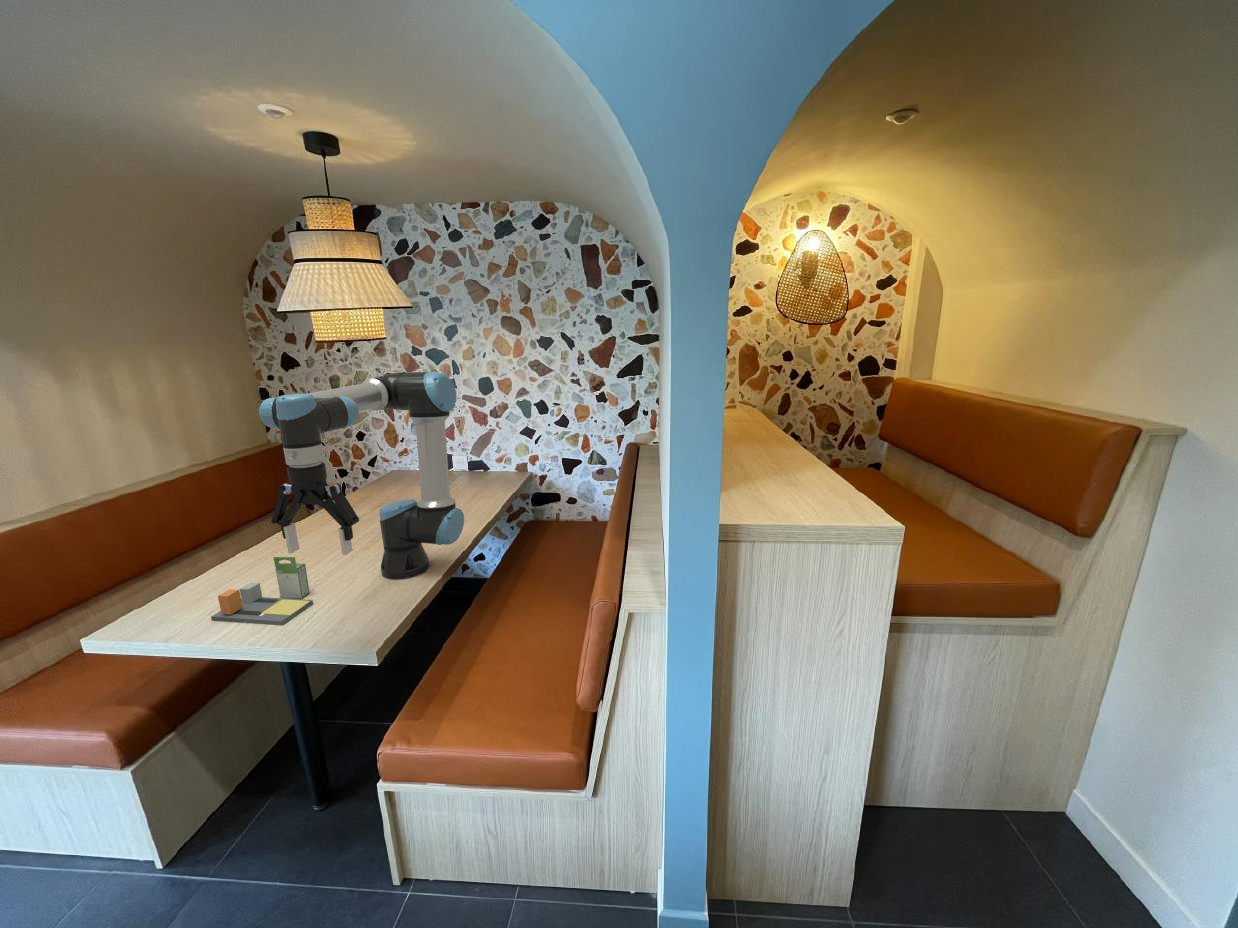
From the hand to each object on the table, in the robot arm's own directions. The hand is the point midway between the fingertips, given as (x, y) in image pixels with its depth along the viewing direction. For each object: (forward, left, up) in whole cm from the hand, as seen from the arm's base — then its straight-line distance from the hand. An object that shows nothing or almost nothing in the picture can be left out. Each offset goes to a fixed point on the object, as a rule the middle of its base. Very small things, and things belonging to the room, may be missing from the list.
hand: (320, 552), depth 127 cm
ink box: (-27, -33, -27) cm, 50 cm away
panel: (-17, -35, -27) cm, 47 cm away
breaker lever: (-14, -42, -25) cm, 51 cm away
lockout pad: (-18, -28, -26) cm, 42 cm away
